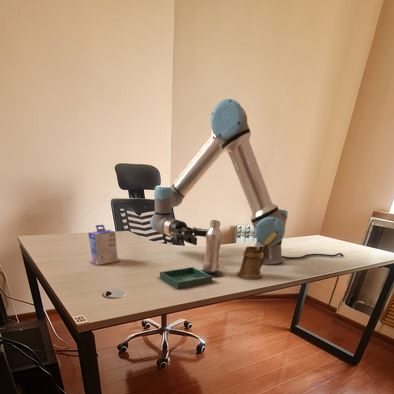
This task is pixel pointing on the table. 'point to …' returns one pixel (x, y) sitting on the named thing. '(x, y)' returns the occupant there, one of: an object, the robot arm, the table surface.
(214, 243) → the silver metal bottle
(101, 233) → the ink cartridge box
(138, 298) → the table surface
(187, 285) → the tray
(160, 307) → the table surface
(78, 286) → the table surface
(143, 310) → the table surface
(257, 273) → the wooden mug
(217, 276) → the coaster
